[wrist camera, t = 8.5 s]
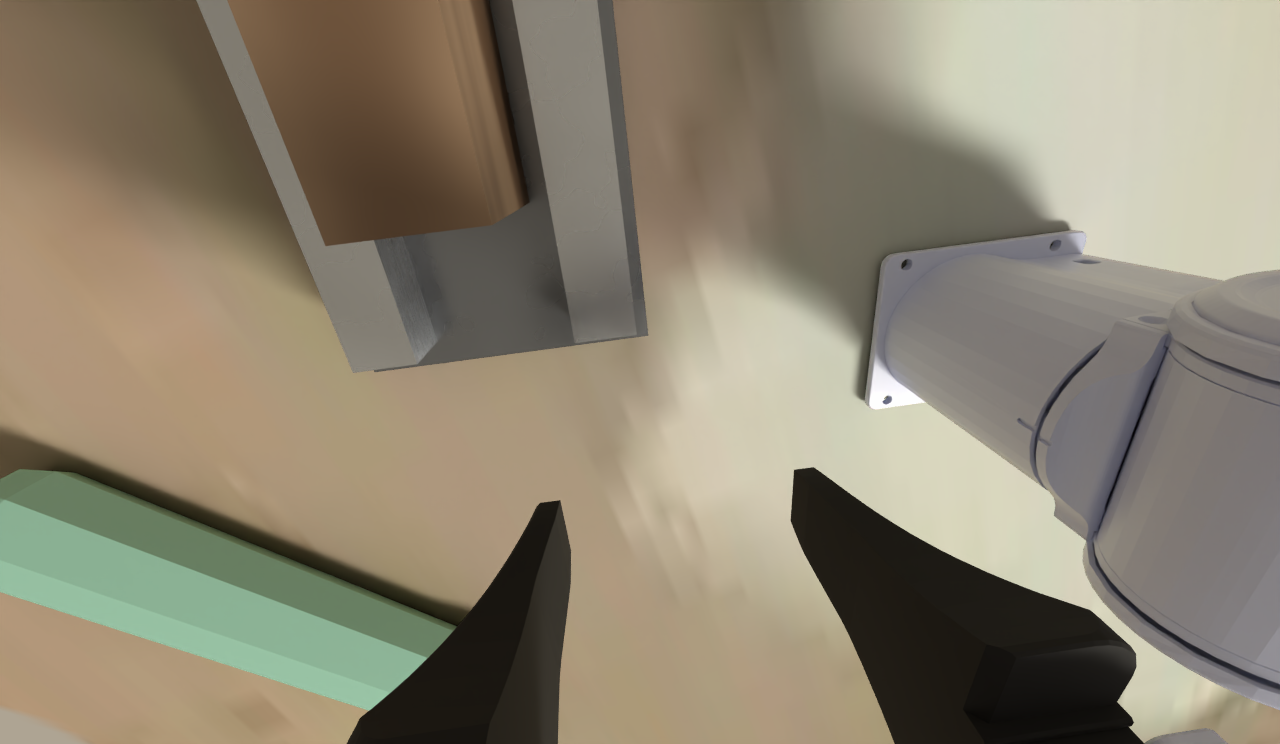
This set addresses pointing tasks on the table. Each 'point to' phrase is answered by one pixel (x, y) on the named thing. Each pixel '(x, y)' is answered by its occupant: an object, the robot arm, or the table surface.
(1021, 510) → the table surface
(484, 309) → the slot base
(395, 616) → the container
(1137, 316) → the robot arm
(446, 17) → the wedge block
